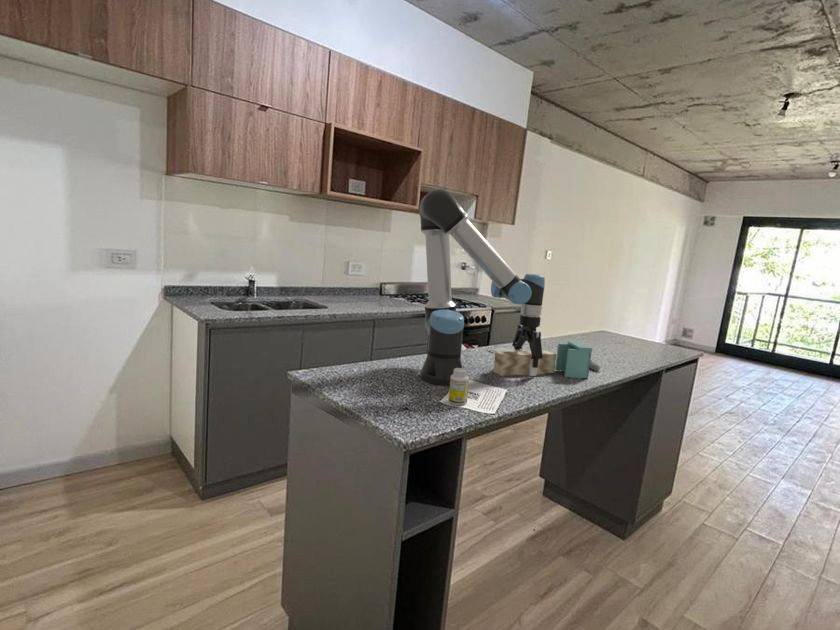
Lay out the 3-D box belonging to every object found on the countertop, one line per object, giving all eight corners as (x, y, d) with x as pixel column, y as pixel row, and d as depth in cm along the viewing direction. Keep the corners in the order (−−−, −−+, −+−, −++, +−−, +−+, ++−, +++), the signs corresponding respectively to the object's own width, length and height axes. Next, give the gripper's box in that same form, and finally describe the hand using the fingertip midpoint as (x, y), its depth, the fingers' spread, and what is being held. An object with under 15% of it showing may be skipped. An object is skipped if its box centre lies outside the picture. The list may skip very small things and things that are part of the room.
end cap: (565, 377, 171) (569, 346, 169) (554, 370, 181) (558, 340, 179) (587, 378, 172) (592, 348, 170) (576, 371, 182) (580, 342, 180)
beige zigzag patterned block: (499, 376, 168) (502, 355, 166) (493, 372, 172) (495, 351, 171) (553, 374, 176) (556, 354, 175) (546, 370, 181) (548, 350, 179)
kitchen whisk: (591, 373, 181) (593, 358, 180) (560, 352, 215) (561, 339, 214) (606, 374, 182) (608, 358, 181) (572, 353, 215) (574, 340, 214)
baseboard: (541, 371, 180) (559, 368, 187) (542, 364, 179) (560, 361, 187) (485, 352, 204) (503, 350, 211) (485, 346, 203) (503, 344, 210)
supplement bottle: (457, 398, 140) (460, 366, 138) (470, 403, 135) (473, 370, 134) (444, 401, 136) (447, 368, 134) (457, 407, 132) (460, 373, 130)
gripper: (556, 321, 160) (549, 380, 163) (524, 310, 183) (518, 361, 187) (537, 321, 158) (530, 380, 161) (507, 309, 181) (502, 361, 185)
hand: (524, 370), depth 174 cm, fingers open, 12 cm apart
